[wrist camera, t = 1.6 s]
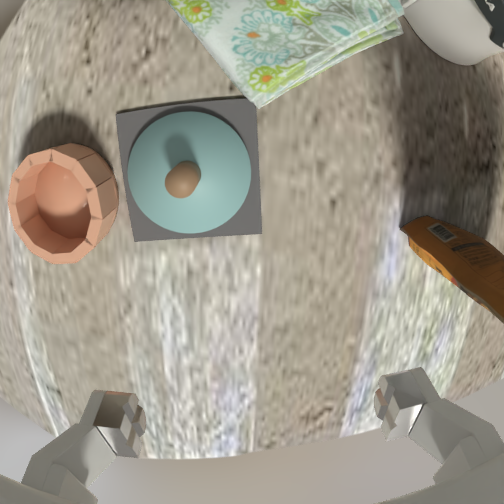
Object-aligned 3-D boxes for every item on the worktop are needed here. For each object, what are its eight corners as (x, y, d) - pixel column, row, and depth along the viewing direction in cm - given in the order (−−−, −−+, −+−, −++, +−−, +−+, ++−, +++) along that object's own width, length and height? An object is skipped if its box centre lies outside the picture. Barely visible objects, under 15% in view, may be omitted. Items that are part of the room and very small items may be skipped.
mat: (117, 114, 28) (115, 114, 28) (255, 98, 28) (255, 98, 28) (135, 240, 34) (134, 241, 34) (261, 232, 34) (261, 233, 34)
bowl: (25, 154, 29) (-1, 163, 25) (110, 134, 29) (89, 140, 25) (45, 247, 34) (25, 265, 30) (127, 240, 34) (112, 260, 30)
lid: (123, 120, 28) (106, 123, 24) (247, 106, 28) (248, 106, 24) (140, 234, 34) (127, 251, 30) (253, 226, 34) (255, 244, 30)
